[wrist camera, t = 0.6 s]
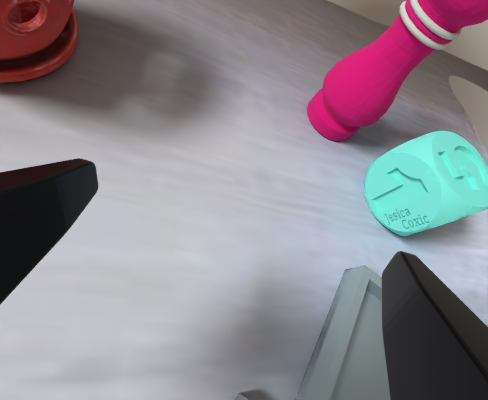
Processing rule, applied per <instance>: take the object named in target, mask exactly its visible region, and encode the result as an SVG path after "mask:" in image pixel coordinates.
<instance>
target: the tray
mask: <svg viewBox="0 0 488 400" xmlns="http://www.w3.org/2000/svg"><path fill="white" fill-rule="evenodd" d="M295 400H391V399H390V391H389V383H388V375H387V367H386V358H385V350H384V342H383V333H382V278H380V277H379V276H378V275H376V274H375V273H374V272H373V271H371V270H370V269H369V268H368V267H366V266H365V265H364V266H360V267H356V268H351V269H347V270H345V272H344V274H343V277H342V280H341V282H340V285H339V287H338V290H337V293H336V295H335V298H334V300H333V303H332V306H331V308H330V311H329V313H328V316H327V319H326V321H325V324H324V326H323V329H322V332H321V334H320V337H319V339H318V342H317V345H316V347H315V350H314V352H313V355H312V358H311V360H310V363H309V365H308V368H307V371H306V373H305V376H304V378H303V381H302V384H301V386H300V389H299V392H298V394H297V397H296V399H295Z"/></svg>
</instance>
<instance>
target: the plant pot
mask: <svg viewBox="0 0 488 400" xmlns="http://www.w3.org/2000/svg"><path fill="white" fill-rule="evenodd" d="M73 3H74V0H0V82H16V81H24V80H29V79H33V78H37V77H40V76H42V75H45V74H47V73H49V72H51V71H53V70H55V69H57V68H58V67H60V66H61V65H62V64H63V63H64V62H65V61H66V60H67V59H68V58H69V57H70V56H71V54H72V53H73V51H74V49H75V47H76V44H77V40H78V23H77V19H76V16H75V13H74V11H73V9H72V7H73Z"/></svg>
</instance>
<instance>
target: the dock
mask: <svg viewBox="0 0 488 400" xmlns="http://www.w3.org/2000/svg"><path fill="white" fill-rule="evenodd" d="M236 400H249V399H248V398H246V397H244V396H243V395H241V394H240V393H239V395H238V397H237V399H236Z"/></svg>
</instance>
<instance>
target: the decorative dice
mask: <svg viewBox="0 0 488 400" xmlns="http://www.w3.org/2000/svg"><path fill="white" fill-rule="evenodd" d="M364 187H365V197H366V201H367V203H368V206H369V208H370V210H371V212H372V213H373V215H374V216H375V217H376V219H377V220H378V221H379V222H380V223H381V224H382V225H384V226H385V227H386V228H388V229H389V230H391V231H392V232H394V233H396V234H398V235H401V236H408V235H411V234H415V233H418V232H422V231H425V230H428V229H431V228H434V227H437V226H440V225H443V224H446V223H449V222H452V221H455V220H458V219H461V218H464V217H467V216H470V215H473V214H475V213H478V212H481V211H483V210H486V209H488V166H487V164H486V163H485V161H484V160H483V158H482V157H481V155H480V154H479V153H478V152H477V150H476V149H475V148H474V147H473V146H472V145H471V144H470V143H469V142H467V141H466V140H465V139H463V138H462V137H460V136H459V135H457V134H455V133H452V132H448V131H435V132H431V133H428V134H425V135H422V136H420V137H417V138H415V139H412V140H410V141H408V142H406V143H403V144H401V145H399V146H397V147H395V148H394V149H392V150H390V151H388V152H386V153H385V154H383V155H382V156H380V157H379V158H377V159H376V160H374V161H373V162H372V163H371V164H370V165H369V168H368V170H367V173H366V177H365V184H364Z"/></svg>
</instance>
